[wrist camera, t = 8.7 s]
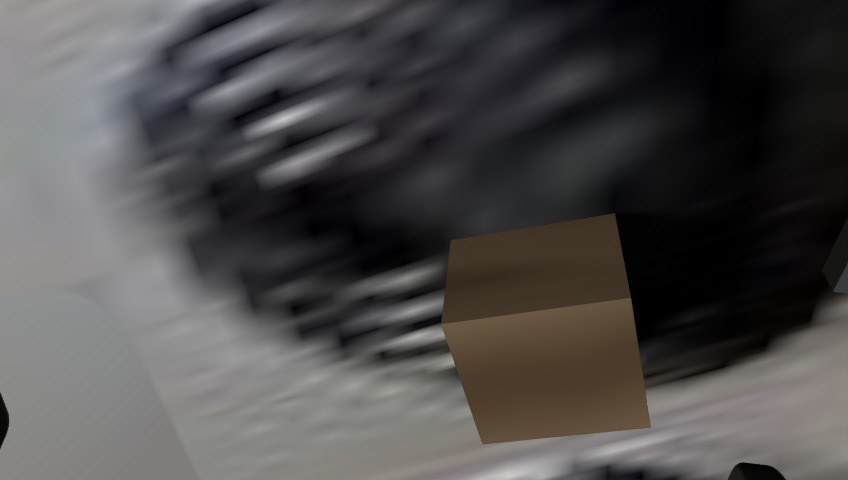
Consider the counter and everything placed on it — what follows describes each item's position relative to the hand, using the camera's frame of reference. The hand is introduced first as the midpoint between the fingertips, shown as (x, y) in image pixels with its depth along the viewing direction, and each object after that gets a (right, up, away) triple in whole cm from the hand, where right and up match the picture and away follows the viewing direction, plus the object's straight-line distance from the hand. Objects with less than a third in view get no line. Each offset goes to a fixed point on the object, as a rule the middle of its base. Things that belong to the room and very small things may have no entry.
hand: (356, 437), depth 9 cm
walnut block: (+5, +1, +15) cm, 16 cm away
